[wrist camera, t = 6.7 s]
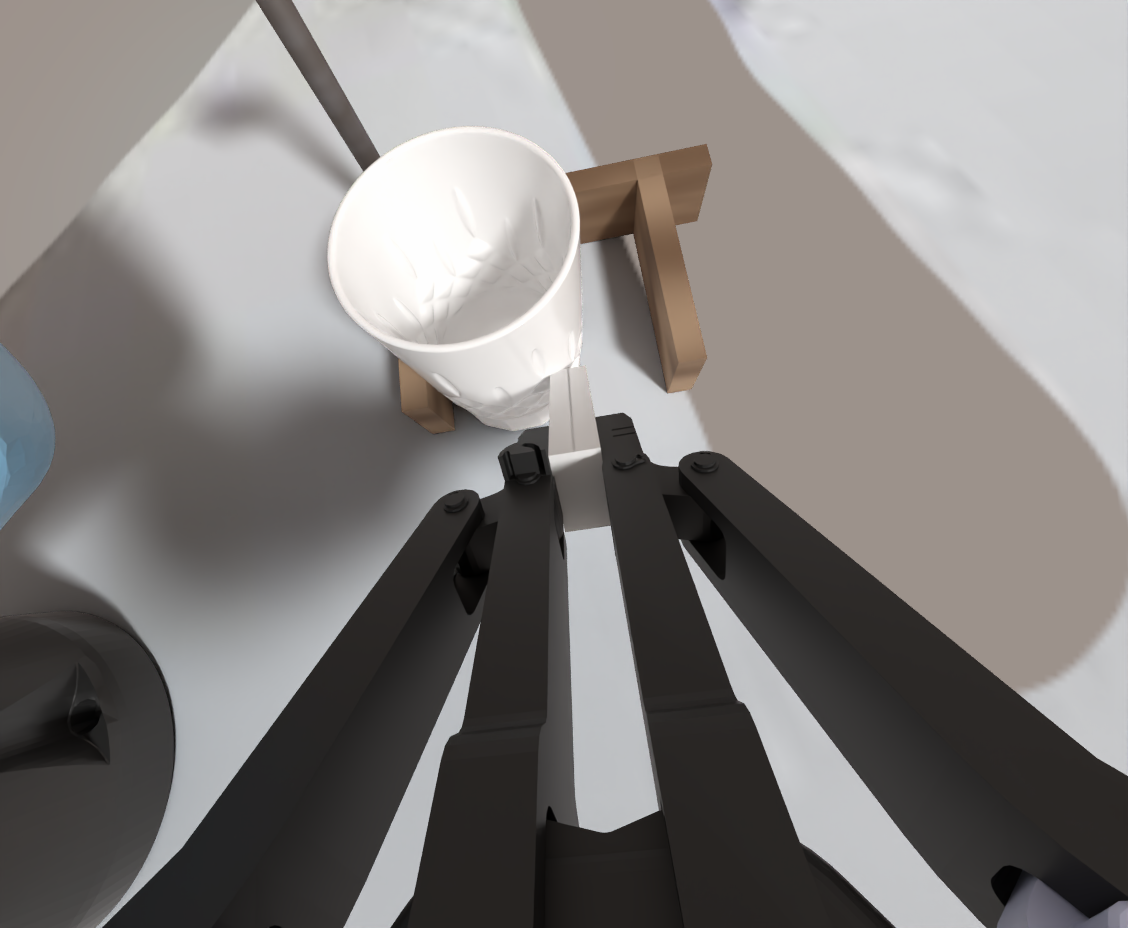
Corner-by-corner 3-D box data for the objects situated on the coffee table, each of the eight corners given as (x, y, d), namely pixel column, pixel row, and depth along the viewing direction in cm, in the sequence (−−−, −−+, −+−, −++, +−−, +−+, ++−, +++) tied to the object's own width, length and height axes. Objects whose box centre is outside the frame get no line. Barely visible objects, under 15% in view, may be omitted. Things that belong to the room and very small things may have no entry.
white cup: (499, 473, 22) (411, 405, 12) (417, 361, 24) (283, 223, 14) (623, 379, 22) (635, 239, 12) (533, 276, 24) (481, 83, 14)
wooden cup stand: (738, 381, 22) (1074, -79, 6) (355, 447, 23) (-183, 208, 7) (687, 185, 24) (831, -483, 9) (348, 253, 26) (-58, -223, 10)
